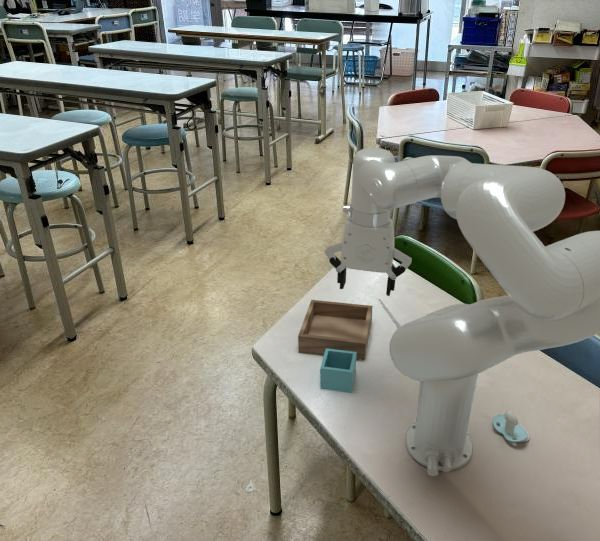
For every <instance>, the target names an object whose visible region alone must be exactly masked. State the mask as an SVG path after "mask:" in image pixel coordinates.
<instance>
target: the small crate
mask: <svg viewBox="0 0 600 541" xmlns="http://www.w3.org/2000/svg"><path fill="white" fill-rule="evenodd" d="M356 356H357V352H352V351H344V350H335V349H327V348H326V350H325V353H324V356H323V357H322V360H321V365H320V368H319V369H320V370H319V371H320V375H319V378H320V379H319V380H320V384H319V385H320V386H319V387H320V390H327V391H335V392H341V393H349V394H352V393H353V390H354V389H353V388H354V384H355V378H356V373H357V360H356Z"/></svg>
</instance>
